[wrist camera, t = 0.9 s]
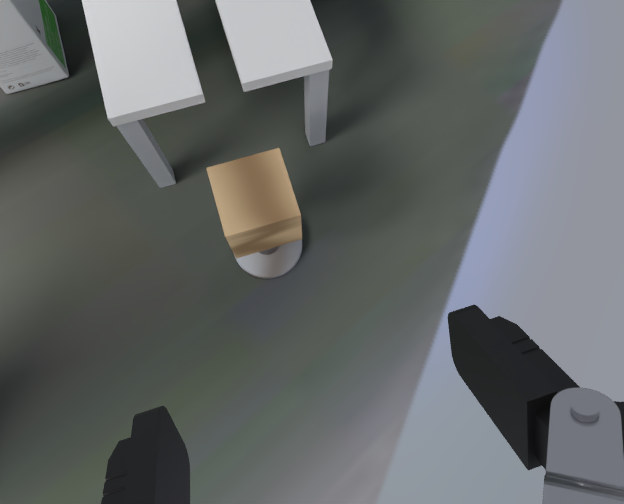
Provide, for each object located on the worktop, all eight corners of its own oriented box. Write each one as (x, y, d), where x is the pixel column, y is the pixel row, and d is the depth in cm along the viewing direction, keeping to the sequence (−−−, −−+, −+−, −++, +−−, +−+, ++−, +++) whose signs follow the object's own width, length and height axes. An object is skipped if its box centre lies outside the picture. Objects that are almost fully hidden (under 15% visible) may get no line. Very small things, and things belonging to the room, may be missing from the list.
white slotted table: (158, 190, 46) (107, 118, 34) (116, 15, 51) (60, -97, 40) (327, 143, 47) (332, 59, 36) (268, -22, 53) (256, -141, 41)
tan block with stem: (243, 287, 43) (219, 246, 32) (226, 224, 45) (197, 163, 33) (310, 267, 44) (310, 219, 32) (291, 206, 45) (284, 139, 34)
